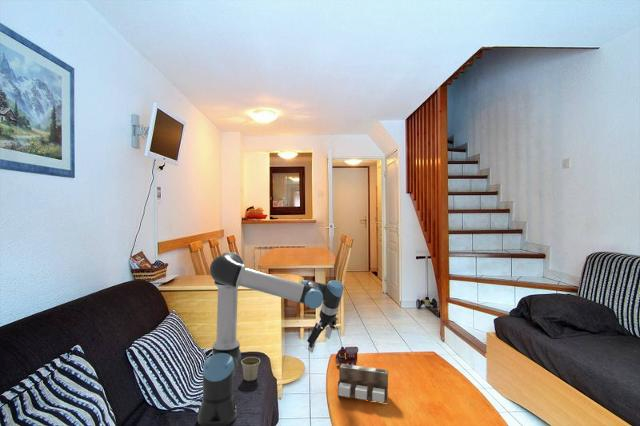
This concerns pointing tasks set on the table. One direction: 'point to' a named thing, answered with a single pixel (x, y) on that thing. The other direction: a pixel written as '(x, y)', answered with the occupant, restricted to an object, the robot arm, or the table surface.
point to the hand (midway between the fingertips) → (318, 343)
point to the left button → (344, 389)
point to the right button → (378, 395)
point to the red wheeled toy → (347, 356)
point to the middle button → (361, 392)
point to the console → (364, 379)
